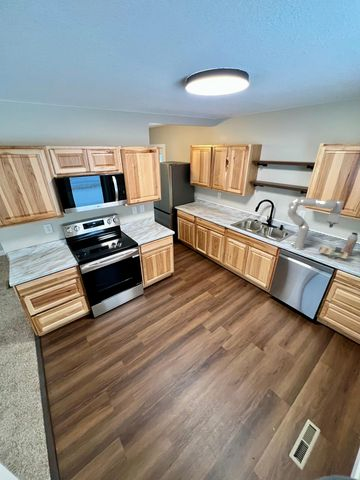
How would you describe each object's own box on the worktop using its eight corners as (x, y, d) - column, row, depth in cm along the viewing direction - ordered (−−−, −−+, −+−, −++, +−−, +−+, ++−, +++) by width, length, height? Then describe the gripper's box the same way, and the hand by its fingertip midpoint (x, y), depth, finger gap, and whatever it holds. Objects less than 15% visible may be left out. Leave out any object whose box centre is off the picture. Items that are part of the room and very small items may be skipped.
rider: (333, 253, 216) (335, 248, 213) (334, 251, 219) (335, 246, 217) (339, 255, 213) (341, 250, 210) (339, 253, 217) (341, 248, 214)
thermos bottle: (348, 257, 219) (357, 235, 207) (340, 254, 226) (349, 232, 213) (351, 255, 223) (361, 233, 210) (343, 252, 229) (352, 231, 216)
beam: (317, 255, 226) (319, 248, 222) (318, 252, 230) (320, 246, 226) (345, 262, 211) (348, 255, 208) (345, 259, 216) (348, 253, 212)
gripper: (327, 211, 213) (322, 226, 221) (344, 214, 204) (338, 230, 212) (328, 209, 218) (323, 224, 226) (344, 212, 209) (338, 227, 217)
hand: (330, 227), depth 219 cm, fingers closed
